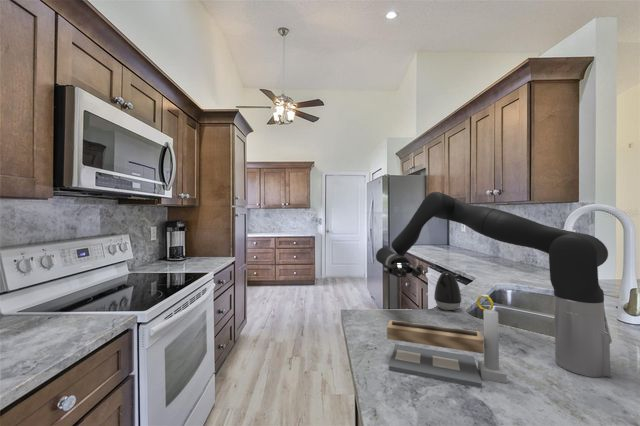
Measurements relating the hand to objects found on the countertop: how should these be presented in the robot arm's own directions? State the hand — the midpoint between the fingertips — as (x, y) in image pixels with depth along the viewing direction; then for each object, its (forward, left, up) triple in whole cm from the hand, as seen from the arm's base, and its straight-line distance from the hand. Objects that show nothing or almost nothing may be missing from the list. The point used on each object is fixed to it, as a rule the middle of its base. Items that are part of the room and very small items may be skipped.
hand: (410, 274), depth 87 cm
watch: (-26, -40, -20) cm, 52 cm away
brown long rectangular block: (-6, +14, -14) cm, 21 cm away
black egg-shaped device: (-12, -36, -20) cm, 43 cm away
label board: (-9, +14, -20) cm, 26 cm away
